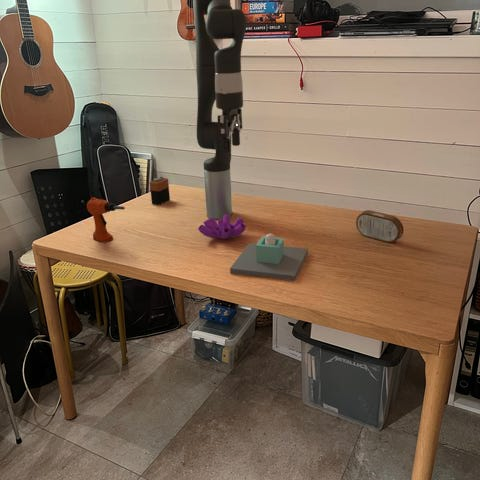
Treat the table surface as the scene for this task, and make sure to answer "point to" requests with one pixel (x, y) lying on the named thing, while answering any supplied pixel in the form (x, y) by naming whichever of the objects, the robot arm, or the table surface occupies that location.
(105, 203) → the toy drill
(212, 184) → the robot arm
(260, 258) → the collar
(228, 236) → the purple coral
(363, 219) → the tin
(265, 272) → the post plate
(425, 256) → the table surface
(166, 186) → the battery
